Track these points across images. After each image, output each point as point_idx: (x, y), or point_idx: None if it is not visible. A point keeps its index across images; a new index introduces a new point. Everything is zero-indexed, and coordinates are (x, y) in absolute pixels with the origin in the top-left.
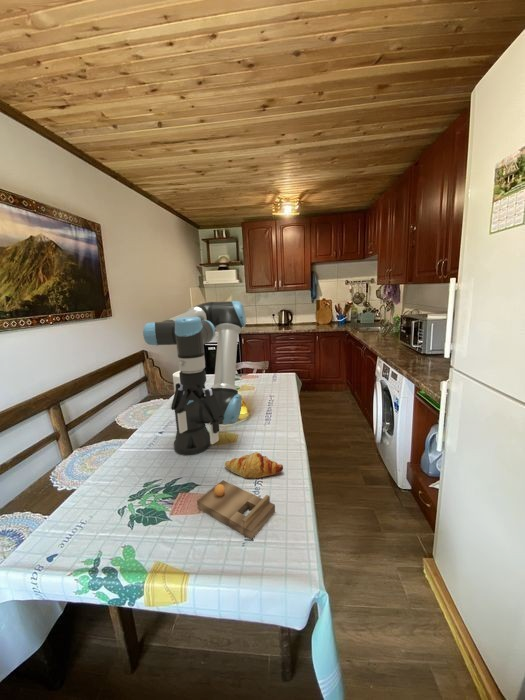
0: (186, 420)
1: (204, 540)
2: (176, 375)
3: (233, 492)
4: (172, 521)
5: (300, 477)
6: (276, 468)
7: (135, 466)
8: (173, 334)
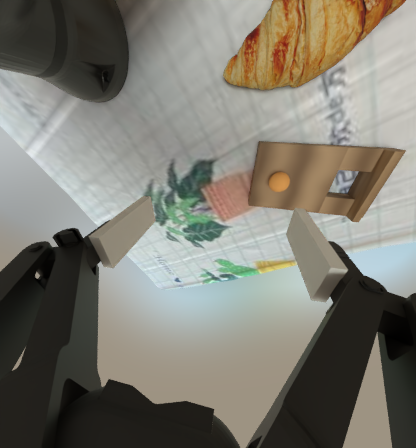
0: (129, 213)
1: None
2: None
3: (300, 162)
4: (233, 227)
5: None
6: None
7: (94, 177)
8: None
